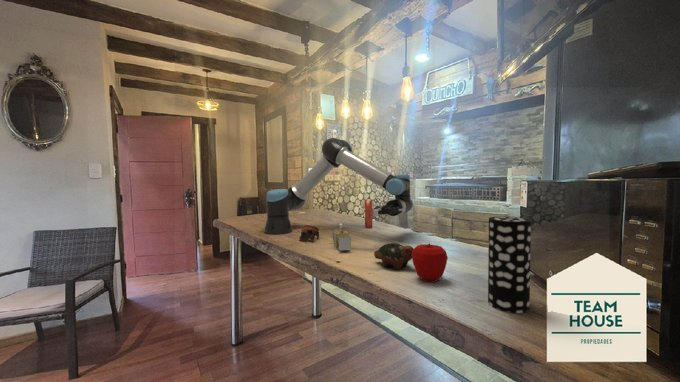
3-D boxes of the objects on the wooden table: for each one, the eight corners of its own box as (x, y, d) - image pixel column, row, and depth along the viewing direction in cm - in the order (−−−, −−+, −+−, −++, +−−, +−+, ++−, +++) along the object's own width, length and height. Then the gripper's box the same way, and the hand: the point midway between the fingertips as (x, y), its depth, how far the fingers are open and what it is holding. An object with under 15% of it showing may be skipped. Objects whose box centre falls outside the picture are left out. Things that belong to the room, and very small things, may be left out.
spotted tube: (514, 296, 72) (515, 216, 71) (538, 312, 63) (540, 221, 62) (481, 297, 71) (481, 216, 70) (501, 314, 63) (502, 222, 62)
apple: (450, 277, 86) (450, 240, 86) (443, 288, 78) (443, 248, 77) (416, 271, 91) (416, 237, 91) (407, 281, 83) (407, 244, 82)
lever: (336, 227, 124) (336, 200, 123) (339, 225, 126) (339, 200, 126) (370, 229, 117) (370, 201, 116) (373, 228, 120) (373, 200, 119)
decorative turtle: (410, 274, 89) (408, 248, 89) (368, 269, 98) (365, 245, 98) (422, 264, 97) (420, 241, 96) (382, 260, 106) (380, 238, 106)
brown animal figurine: (294, 240, 141) (299, 225, 144) (311, 247, 145) (316, 231, 148) (305, 238, 131) (310, 221, 134) (323, 245, 135) (327, 229, 138)
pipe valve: (332, 242, 134) (331, 224, 133) (344, 241, 135) (343, 223, 134) (338, 253, 115) (337, 232, 115) (352, 252, 116) (351, 231, 115)
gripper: (408, 215, 135) (388, 223, 115) (383, 214, 142) (360, 221, 122) (408, 199, 135) (387, 204, 115) (383, 199, 142) (359, 203, 122)
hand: (373, 213), depth 119 cm, fingers closed
